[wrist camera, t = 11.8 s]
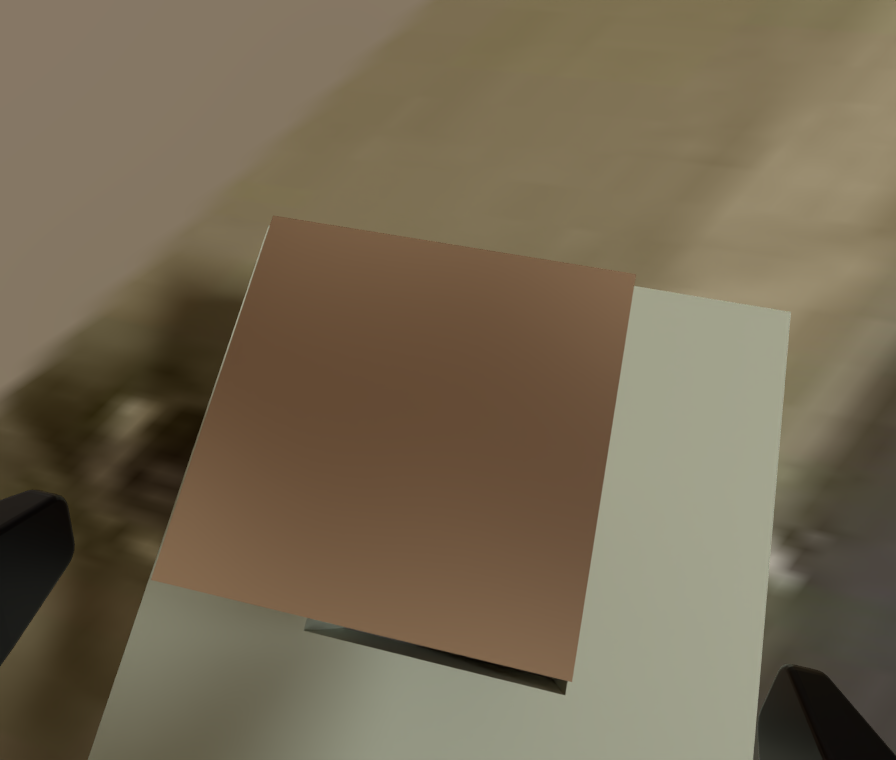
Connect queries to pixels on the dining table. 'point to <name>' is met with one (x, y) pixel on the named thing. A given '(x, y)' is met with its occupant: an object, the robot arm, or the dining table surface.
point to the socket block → (604, 615)
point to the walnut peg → (409, 443)
